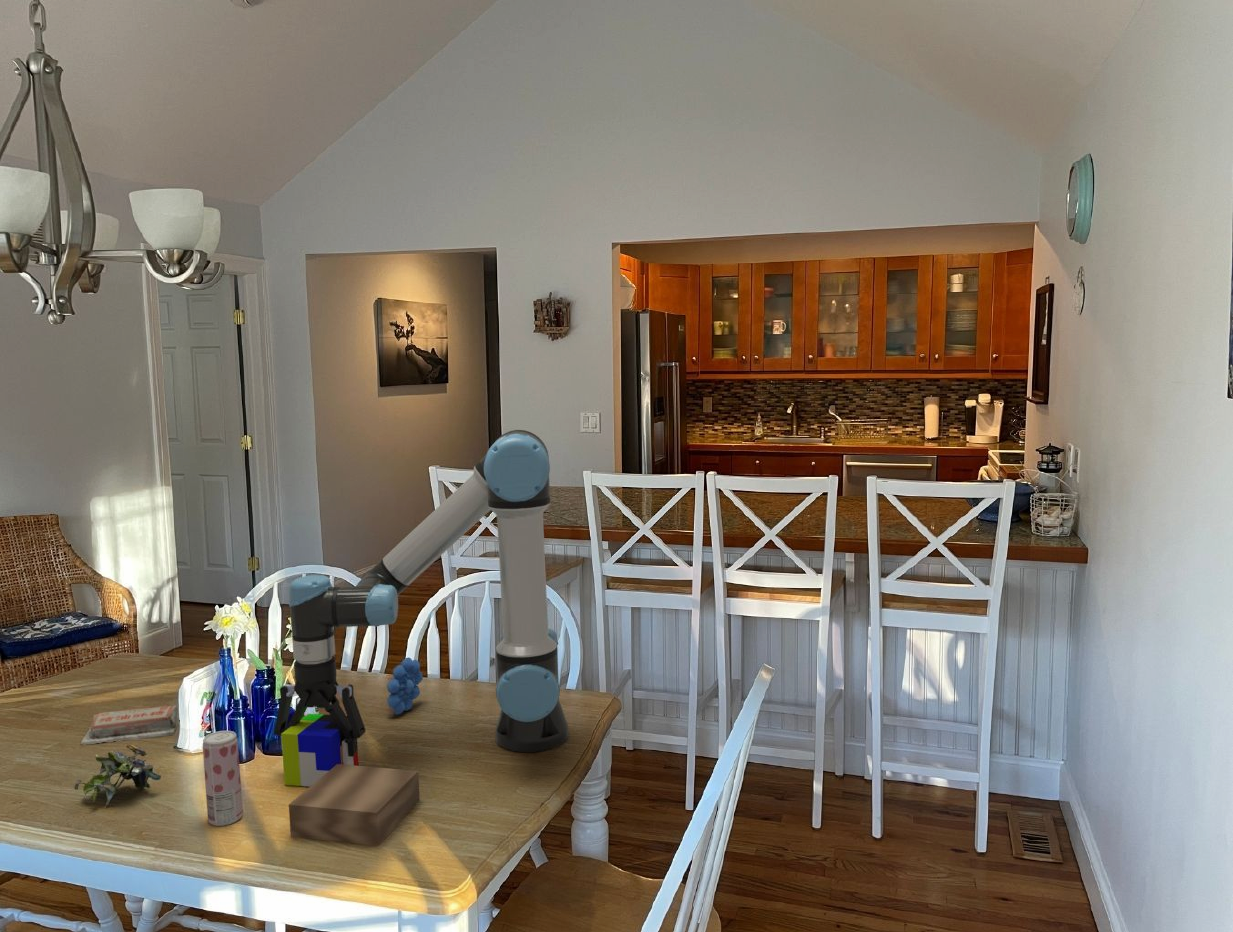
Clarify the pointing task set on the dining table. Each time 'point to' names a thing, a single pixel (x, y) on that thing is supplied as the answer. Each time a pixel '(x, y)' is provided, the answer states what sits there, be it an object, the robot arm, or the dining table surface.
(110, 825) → the dining table surface
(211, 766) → the beverage can
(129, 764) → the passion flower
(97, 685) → the dining table surface
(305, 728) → the puzzle toy
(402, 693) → the grapes
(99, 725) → the packaged product
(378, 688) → the dining table surface
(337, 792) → the walnut block
